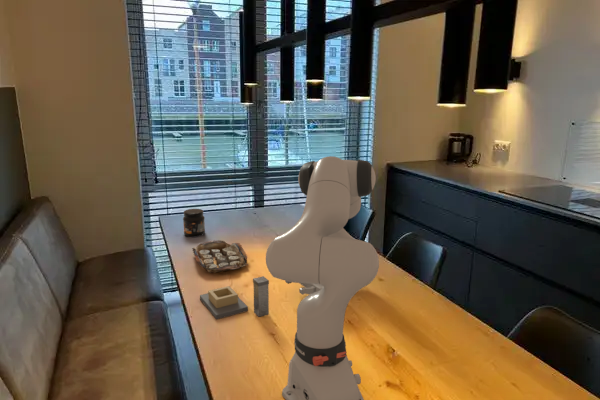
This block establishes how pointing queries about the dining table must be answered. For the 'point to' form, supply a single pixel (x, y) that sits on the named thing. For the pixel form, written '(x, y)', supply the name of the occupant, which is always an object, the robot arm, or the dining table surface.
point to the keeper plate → (223, 302)
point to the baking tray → (220, 256)
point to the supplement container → (194, 222)
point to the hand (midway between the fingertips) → (293, 286)
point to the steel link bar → (261, 296)
